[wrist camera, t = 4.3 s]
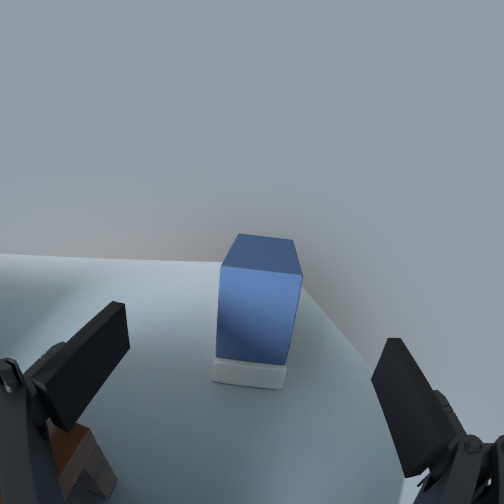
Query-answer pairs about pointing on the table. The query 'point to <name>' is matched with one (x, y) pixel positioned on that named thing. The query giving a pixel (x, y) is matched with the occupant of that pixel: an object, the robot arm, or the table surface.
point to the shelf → (79, 461)
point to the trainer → (256, 311)
